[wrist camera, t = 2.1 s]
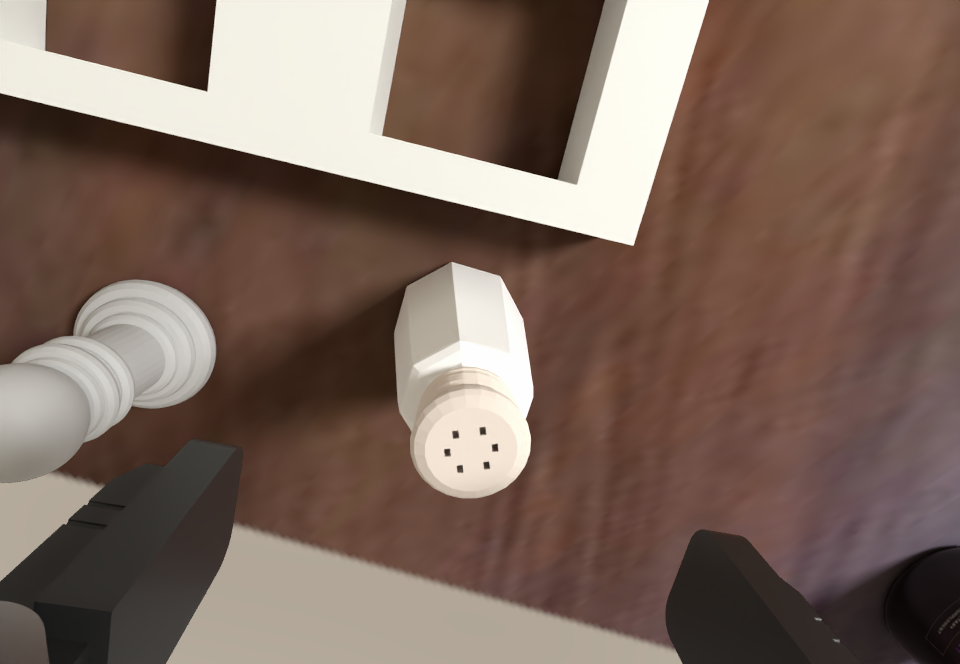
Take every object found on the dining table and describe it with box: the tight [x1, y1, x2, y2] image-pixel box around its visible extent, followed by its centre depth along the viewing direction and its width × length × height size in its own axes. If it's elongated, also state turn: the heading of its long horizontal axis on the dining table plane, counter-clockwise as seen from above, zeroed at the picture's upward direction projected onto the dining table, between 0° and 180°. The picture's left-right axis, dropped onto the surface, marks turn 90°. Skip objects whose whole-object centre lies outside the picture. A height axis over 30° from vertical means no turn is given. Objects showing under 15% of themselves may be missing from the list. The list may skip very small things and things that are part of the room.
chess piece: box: [0, 280, 216, 483], centre depth 18 cm, size 5×5×9 cm
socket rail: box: [0, 0, 709, 245], centre depth 18 cm, size 24×10×4 cm, turn 76°
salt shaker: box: [394, 262, 533, 498], centre depth 18 cm, size 5×5×11 cm
